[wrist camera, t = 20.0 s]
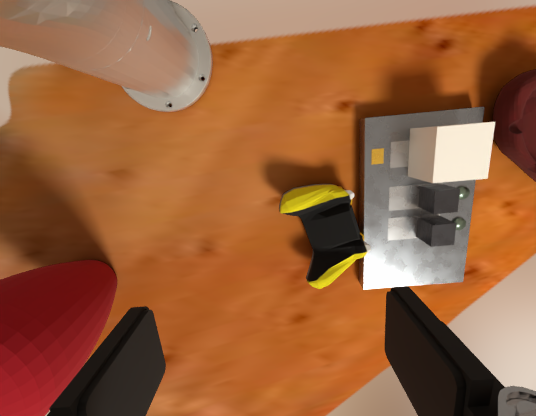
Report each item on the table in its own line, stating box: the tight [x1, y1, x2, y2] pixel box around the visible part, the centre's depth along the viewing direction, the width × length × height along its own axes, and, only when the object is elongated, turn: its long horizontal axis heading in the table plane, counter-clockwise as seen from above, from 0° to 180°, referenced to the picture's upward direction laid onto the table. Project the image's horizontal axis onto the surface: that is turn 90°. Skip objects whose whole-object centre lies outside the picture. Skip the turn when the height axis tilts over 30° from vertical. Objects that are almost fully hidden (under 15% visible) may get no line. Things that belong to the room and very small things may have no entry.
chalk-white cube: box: [408, 122, 495, 183], centre depth 31 cm, size 6×6×6 cm
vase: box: [0, 260, 117, 416], centre depth 27 cm, size 15×15×30 cm
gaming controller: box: [279, 184, 371, 289], centre depth 36 cm, size 15×6×10 cm
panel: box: [359, 107, 484, 289], centre depth 35 cm, size 25×15×6 cm, turn 5°
